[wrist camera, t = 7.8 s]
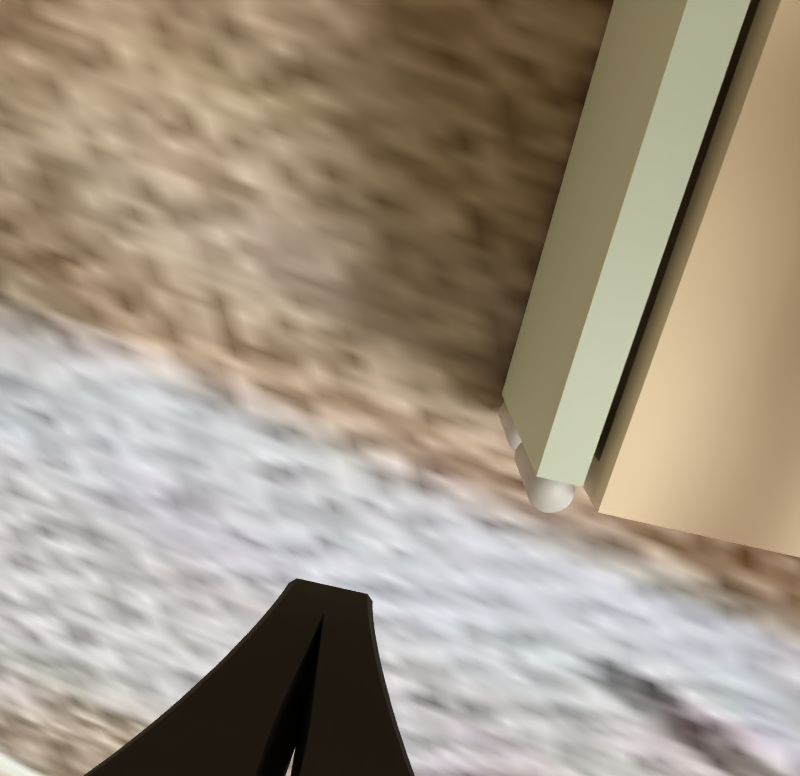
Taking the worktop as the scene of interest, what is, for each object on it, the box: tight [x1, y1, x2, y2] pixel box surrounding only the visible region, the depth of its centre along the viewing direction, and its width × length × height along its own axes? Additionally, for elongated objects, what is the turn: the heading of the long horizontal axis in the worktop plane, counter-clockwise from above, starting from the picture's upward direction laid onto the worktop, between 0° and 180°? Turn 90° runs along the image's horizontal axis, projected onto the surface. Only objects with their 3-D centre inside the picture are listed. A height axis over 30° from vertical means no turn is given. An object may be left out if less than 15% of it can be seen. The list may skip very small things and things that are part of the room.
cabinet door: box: [499, 0, 751, 513], centre depth 12 cm, size 2×20×6 cm, turn 167°
